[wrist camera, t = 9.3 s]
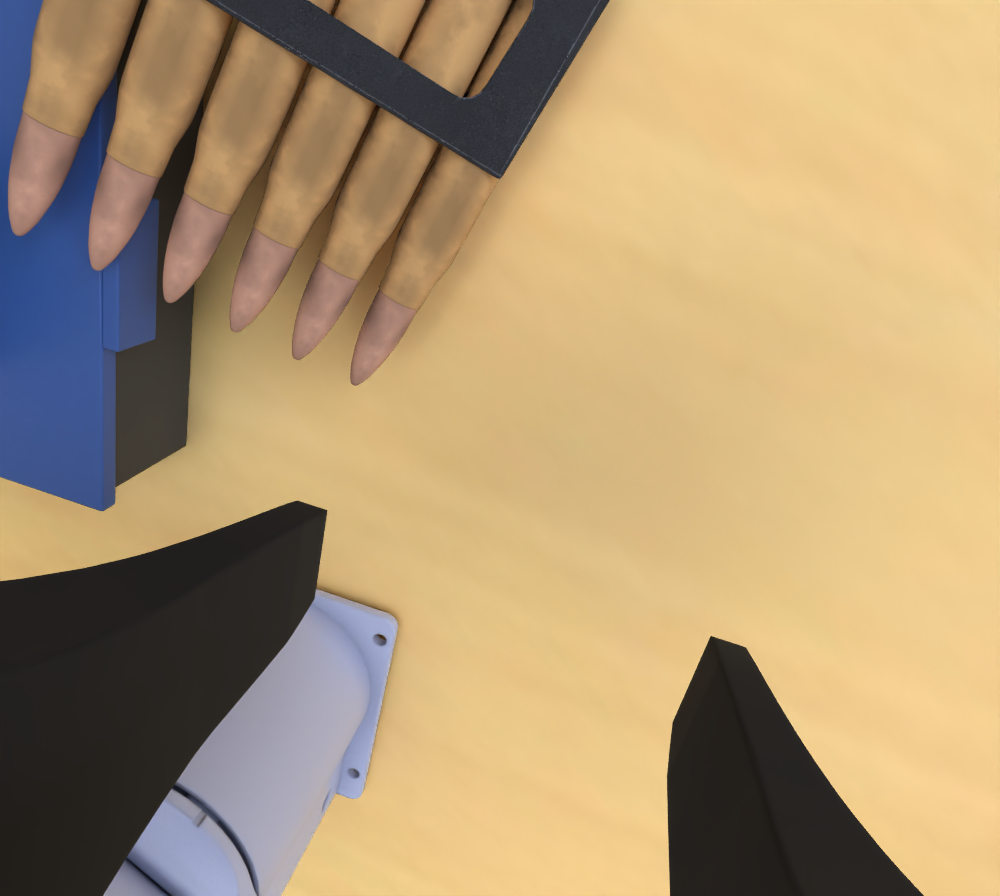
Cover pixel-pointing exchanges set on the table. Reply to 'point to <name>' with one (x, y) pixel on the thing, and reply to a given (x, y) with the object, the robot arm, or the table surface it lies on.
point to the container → (86, 312)
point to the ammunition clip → (295, 135)
